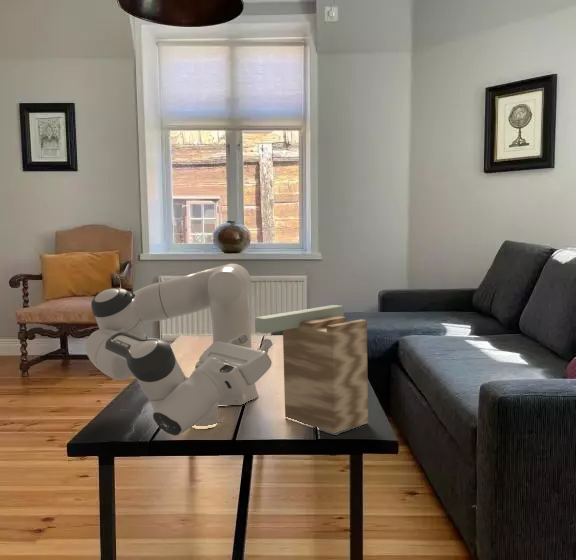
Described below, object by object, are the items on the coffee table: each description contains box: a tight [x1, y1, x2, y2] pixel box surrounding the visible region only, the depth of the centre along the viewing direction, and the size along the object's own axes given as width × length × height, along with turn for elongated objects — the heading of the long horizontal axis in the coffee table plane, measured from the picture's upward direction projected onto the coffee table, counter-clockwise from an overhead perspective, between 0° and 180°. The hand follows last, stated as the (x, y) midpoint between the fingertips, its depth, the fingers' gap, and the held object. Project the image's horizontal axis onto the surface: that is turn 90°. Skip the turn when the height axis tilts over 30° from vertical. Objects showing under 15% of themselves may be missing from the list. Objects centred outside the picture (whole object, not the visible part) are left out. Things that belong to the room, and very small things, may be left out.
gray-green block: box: [254, 304, 345, 334], centre depth 157 cm, size 27×4×4 cm, turn 131°
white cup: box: [195, 402, 219, 426], centre depth 157 cm, size 8×8×10 cm
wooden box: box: [282, 316, 369, 433], centre depth 157 cm, size 12×18×26 cm, turn 41°
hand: (257, 338), depth 147 cm, fingers open, 8 cm apart
